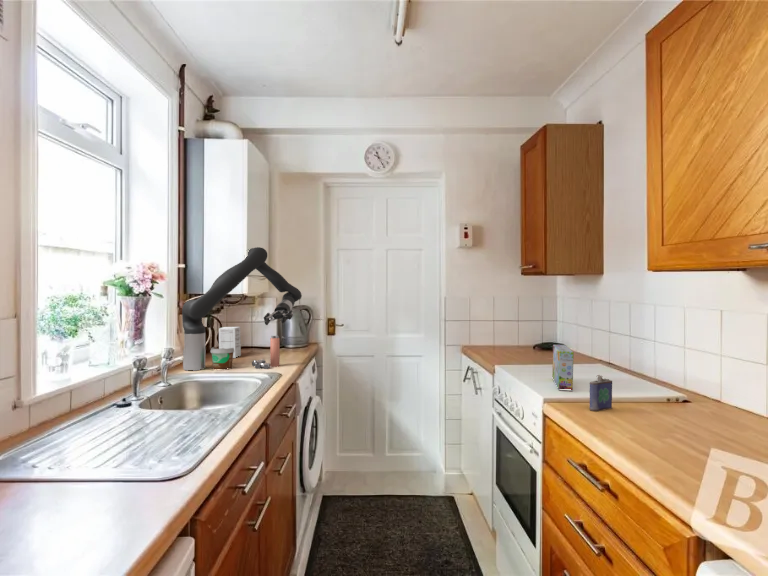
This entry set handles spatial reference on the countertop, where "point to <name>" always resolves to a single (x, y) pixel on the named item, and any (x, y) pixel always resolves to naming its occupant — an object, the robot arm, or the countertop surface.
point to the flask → (600, 394)
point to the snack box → (563, 366)
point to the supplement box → (230, 339)
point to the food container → (222, 358)
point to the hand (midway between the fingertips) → (274, 322)
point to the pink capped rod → (274, 351)
